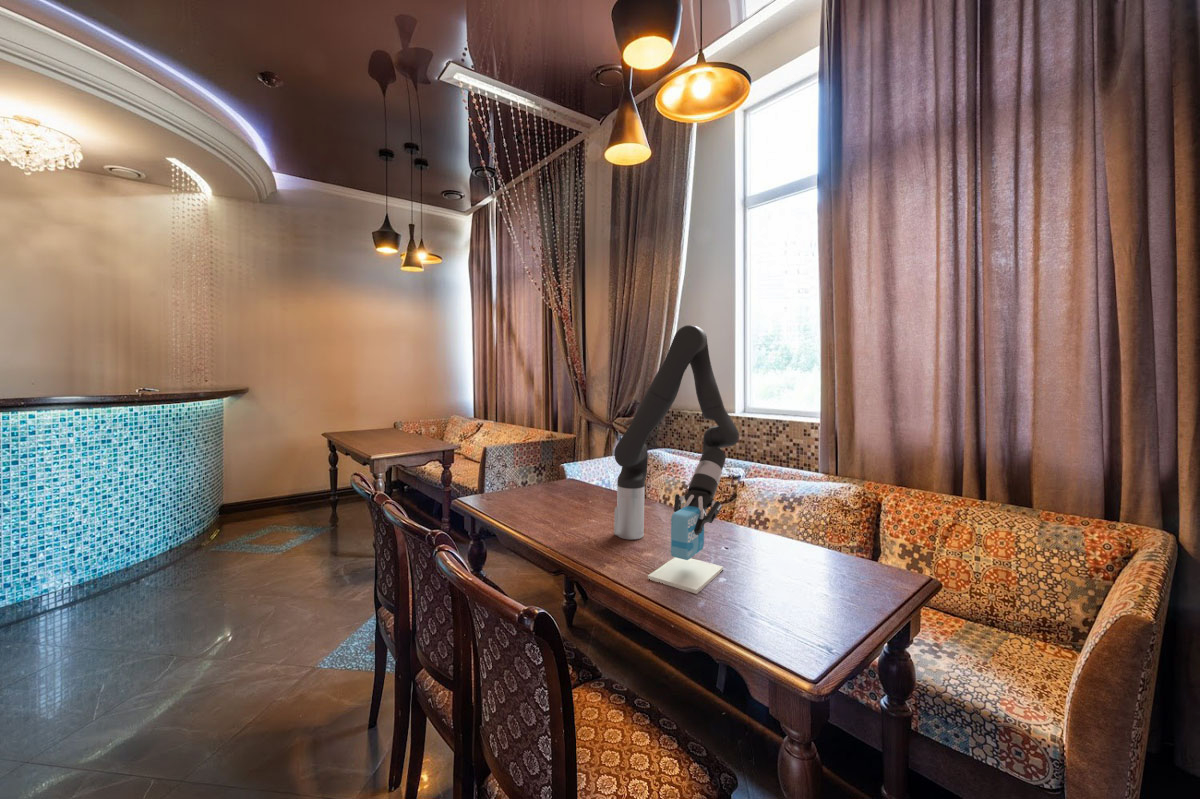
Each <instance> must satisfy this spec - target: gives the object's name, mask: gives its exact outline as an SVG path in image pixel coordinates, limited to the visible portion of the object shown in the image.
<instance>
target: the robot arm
mask: <svg viewBox="0 0 1200 799" xmlns="http://www.w3.org/2000/svg"><path fill="white" fill-rule="evenodd" d="M708 344H709V343H708V336H707V333H706V332H705V331H704V330H703V328H701V327H699V326H696V325H690V324H687V325H684V326H682V327H680V328H679V329H678V330H677V331H676V333H675V334H674V337H673V339H672V342H671V344H670V347H669V350H668V351H667V353H666V357H665V358H664V361H663V363H662V364H661V366H660V367H659V369H658V371H657V373H655V376H654V378H653V380H652V381H651V382H650V385H649V387H648V388H647V390H646V392H645V393H644V396H643V398H642V400H641V402H640V404H639V406H638V408H637V410H636V412H635V414H634V416H633V418H632V421H631V423H630V424H629V426H628V428H627V429H626V430H625V432H624V434H623V435H622V437H620V439H619V441H618V442H617V444H616V446H615V447H614V453H613V454H614V460H615V462H616V463H617V465H618V466H620V467H621V470H620V472H619V473H620V474H619V475H618V477H617V482H616V483H617V484H616V485H617V486H616V487H617V491H616V492H617V493H616V494H617V495H616V499H617V500H616V502H617V503H616V506H615V507H614V524H613V525H614V527H613V529H614V531H613V534H614V535H615V536H617V537H618V538H620V539H623V540H630V541H632V540H639V539H642V538H643V537H644V534H645V533H644V532H645V527H644V526H645V525H644V524H645V489H646V488H645V481H646V479H647V474H648V459H649V458H648V447H647V444H646V442H647V440H648V438H649V437H650V435H651V433H652V432H653V431H654V430H655V429H656V428H657V426H658V425H659V424H660V423H661V422H662V421H663V419H665V417H666V416H667V414H668V413H669V411H670V410H671V408H672V405H673V404H674V402H675V400H676V398H677V396H678V394H679V393H678V392H679V390H680V388H681V387H680V386H681V383H682V379H683V376H684V375H685V372H686V370H687V368H688V367H689V365H690V368H691V371H692V374H693V381H694V388H695V392H696V393H695V394H696V397H697V401H698V405H699V409H700V410H701V413H702V417H703V418H704V419H705V420H711V421H714V422H715V423H716V425H714V426H711V427H708V428H707V429H706V430H705V431H704V434H703V436H702V437H703V439H702V440H703V441H702V454H701V457H700V459H699V462H698V465H697V466H696V468H695V470H694V473H693V474H692V475H693V476H692V478H691V481H690V483H689V485H688V489H687V492H686V493H685V494H684V495H680V494H675V496H674V503H673V504H674V505H673V513H675V512H676V511H678V510H680V509H682V508H684V507H686V506H693V507H699V509H700V514H699V519H698V520H697V523H696V526H695V529H694V533H695V534H696V535H699V533H701V532H702V529H703V526H704V527H705V524H706V523H709V524H712V523H713V522H714V521H715V518H716V517H717V516H718V515H719V513H720V511H721V510H722V508H723V507H722V504H721V503H720V501H719V500H714V498H715V495H716V493H717V489H718V486H719V484H720V482H721V477H722V472H723V468H724V465H725V464H726V457H727V456H726V453H725V452H724V451H723V449H722V448H728V447H733V446H735V445H736V444H737V443H738V442H739V441H738V440H739V437H740V436H739V431H738V430H739V429H737V428H738V427H737V426H736V424H735V423H734V421H733V420H732V418H731V417H730V415H729V413H728V411H727V410H726V409H725V405H724V402H723V399H722V396H721V393H720V390H719V387H718V383H717V381H716V378H715V375H714V371H713V368H712V363H711V359H710V352H709V345H708ZM684 501H685V503H684ZM683 503H684V504H683ZM682 505H683V506H682ZM710 507H711V508H710ZM709 508H710V510H709V511H708V513H707V509H709Z"/></svg>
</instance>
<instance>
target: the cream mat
mask: <svg viewBox="0 0 1200 799" xmlns="http://www.w3.org/2000/svg"><path fill="white" fill-rule="evenodd" d="M722 570H723V571H724V566H722V565H718V564H716V563H715V564H714V563H711V562H707V561H703V560H700V559H695V558H693V557H691V558H690V559H689V560H684V559H680V558H676V557H673V558H672V559H670V560H668V561H667V562H666V563H664V564H662V566H660V567H658V568H657V569H656V570H654V571H652V572H651V573H649V574H648V575H647V580H649V579H650V581H653V582H656V583H659V582H660V584H662V583H663V585H665V586H669V587H672V588H675V589H679V590H683V591H685V592H688V593H693V594H695V595H697V594H698V593H700V592H701V591H702V590H703V589H704V588H705V587H706V586H708V585H709V584H710V583H711V582H712V581H713V580H714V579H715V578H716V577H718V576H719V575H720V574H721V573H720V572H721V571H722ZM723 571H722V572H723Z"/></svg>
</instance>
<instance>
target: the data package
mask: <svg viewBox="0 0 1200 799" xmlns="http://www.w3.org/2000/svg"><path fill="white" fill-rule="evenodd" d="M699 514H700V509H699V507H693V506H686V507H684V508H683V507H681V509H680V510H678V511H676V512H673V513H672V515H671V518H670V554H671V557H673V558H674V557H676V558H680V559H684V560H689V559H690V558H693V557H694V556H695V555H697V554H698V553H699V552H701V551H702V550H703V549H704V545H705V525H704V526H703V529H702V532H701V533H699V535H696V534H695V533H694V529H695V526H696V523H697V520H698V519H699Z"/></svg>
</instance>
